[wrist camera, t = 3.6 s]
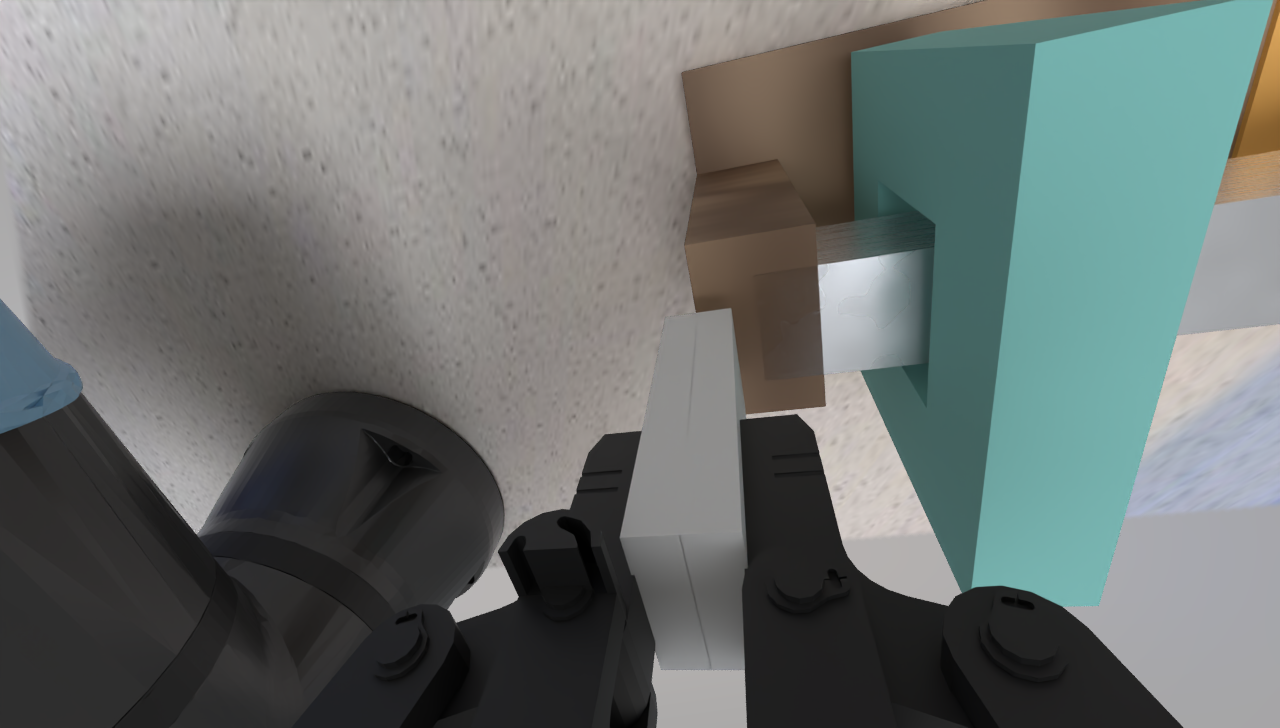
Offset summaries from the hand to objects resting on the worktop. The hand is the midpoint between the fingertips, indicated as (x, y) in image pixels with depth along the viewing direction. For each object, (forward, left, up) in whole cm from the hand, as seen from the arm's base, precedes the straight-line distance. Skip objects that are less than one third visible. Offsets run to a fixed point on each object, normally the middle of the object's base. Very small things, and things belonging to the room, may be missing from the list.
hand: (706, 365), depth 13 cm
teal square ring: (+6, 0, -8) cm, 11 cm away
